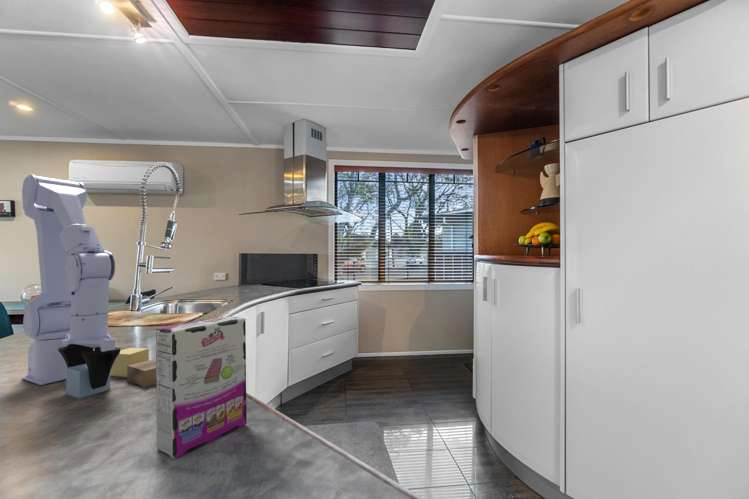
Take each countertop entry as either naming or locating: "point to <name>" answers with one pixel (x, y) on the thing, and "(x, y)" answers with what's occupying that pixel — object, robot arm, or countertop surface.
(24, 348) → the countertop surface
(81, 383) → the blue cube
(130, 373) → the walnut block
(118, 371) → the mustard cube
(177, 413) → the candy bar box
